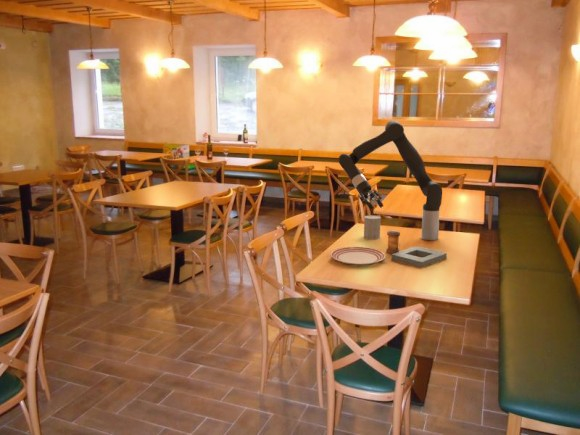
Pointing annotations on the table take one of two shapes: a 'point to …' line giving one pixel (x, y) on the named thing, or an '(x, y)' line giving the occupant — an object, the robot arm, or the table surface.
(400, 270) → the table surface
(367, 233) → the speckled tan cylinder
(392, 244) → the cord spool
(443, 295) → the table surface
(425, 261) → the grey rectangular frame
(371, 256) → the dinner plate
